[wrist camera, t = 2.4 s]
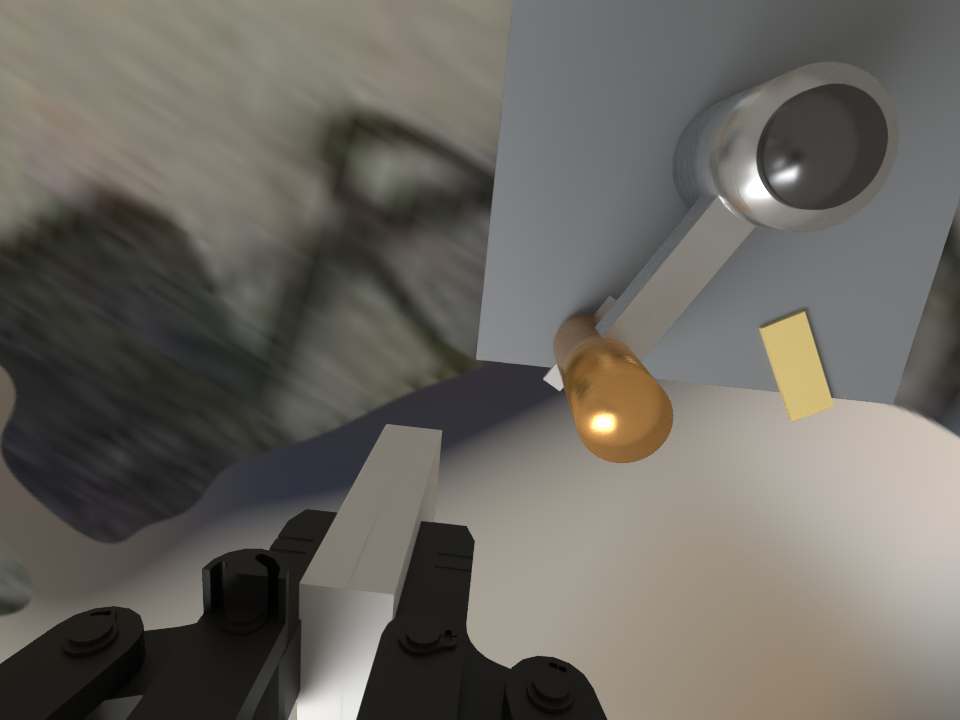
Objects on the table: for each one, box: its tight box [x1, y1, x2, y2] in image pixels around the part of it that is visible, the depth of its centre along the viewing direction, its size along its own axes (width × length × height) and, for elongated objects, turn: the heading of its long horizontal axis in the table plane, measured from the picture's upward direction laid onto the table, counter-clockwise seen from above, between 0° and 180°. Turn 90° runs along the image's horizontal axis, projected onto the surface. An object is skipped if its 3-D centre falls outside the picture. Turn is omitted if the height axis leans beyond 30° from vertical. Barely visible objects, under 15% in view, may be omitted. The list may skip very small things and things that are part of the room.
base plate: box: [476, 0, 960, 422], centre depth 26 cm, size 20×21×2 cm
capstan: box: [553, 62, 899, 463], centre depth 21 cm, size 14×5×9 cm, turn 144°
